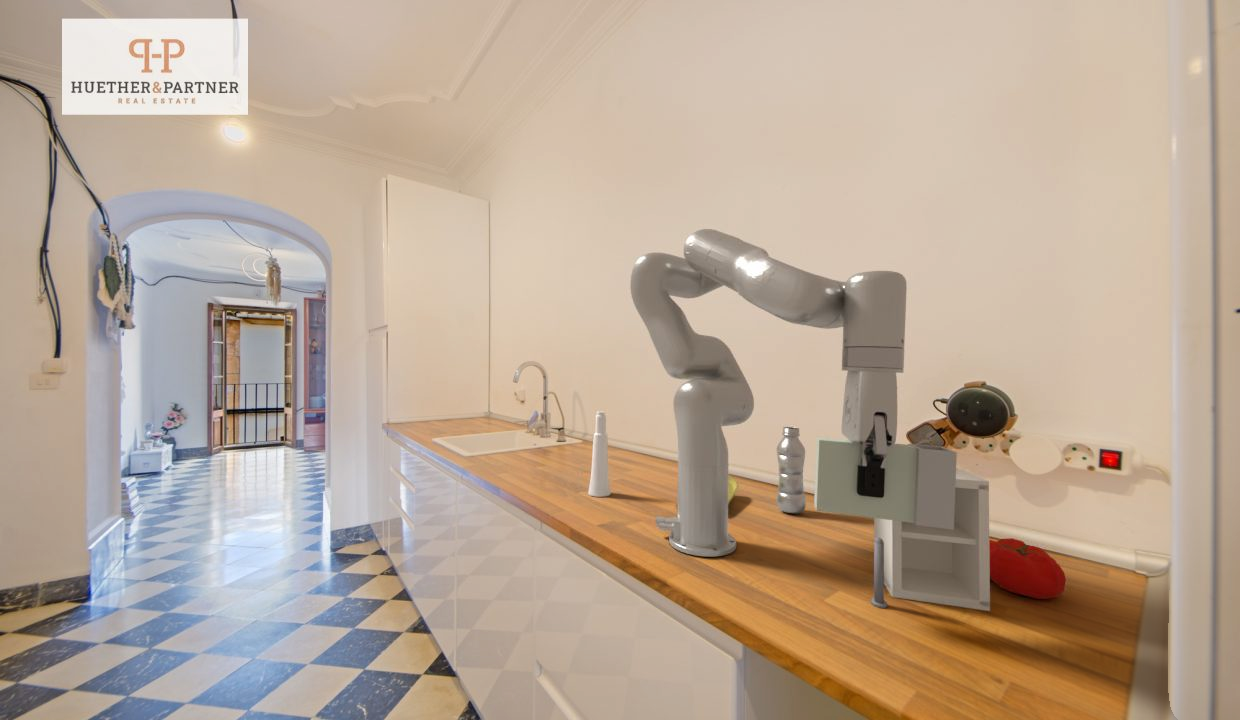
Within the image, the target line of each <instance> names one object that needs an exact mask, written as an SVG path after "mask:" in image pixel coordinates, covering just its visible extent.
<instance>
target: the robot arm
mask: <svg viewBox="0 0 1240 720" xmlns="http://www.w3.org/2000/svg"><path fill="white" fill-rule="evenodd" d="M629 284H630V287H629V289H630V294H631V299H632V302H633V304H634V307H635V309H636V311H637V313H638V314H639V316H640V318H641V319H642V322H643V323H644V325H645V327H646V330H647V332H648V333H649V336H650V339H651V341H652V343H653V345H654V348H655V351H656V352H657V353H656V354H657V355H658V357H659V359H660V361H661V364H662V366H663V368H664V370H665V371H666V373H667V374H668V375H669V376H670V377H671V378H672V379H673V378H674V379H677V380H688V381H685V382H684V383H682V384H681V385H680V386H679V387H678V388H677V390H676V392H675V393H674V397H673V412H674V418H675V423H676V424H675V425H676V430H677V431H676V432H677V503H678V508H677V515H676V516H672V517H665V516H656V517H655V520H654V523H655V527H658V529H659V531H665V532H666V531H668V532H669V531H670V533H669V537H668V541H669V542H668V543H669V544H670V546H671V547H673V548H674V549H675V550H677V551H678V552H681V553H683V554H687V555H691V556H696V557H703V558H704V557H706V558H711V557H713V558H715V557H722V556H727V555H729V554H732V553H733V552H734V551H735V550H736V549H737V540H736V538H735V537H734V536H733V535H732V534H730V533H729V504H728V474H729V448H728V444H727V439H726V437H725V434H724V431H723V428H722V427H729V426H737V425H741V424H743V423H745V422H746V421H748V420H749V419H750V418H751V416H752V414H753V411H754V407H755V399H754V395H753V391H752V389H751V387H750V385H749V384H750V383H748V381H747V379H746V377H745V375H744V373H743V371H742V370H741V367H740V365H739V363H738V362H737V360H736V358H735V356H734V354H733V352H732V350H731V349H730V348H729V346H728V345H727V344H726V343H725V342H724V341H722V339H720V338H718V337H715V336H711V335H704V334H700V333H697V332H696V331H694V329H693V328H692V326H691V325H690V322H689V321H688V319H687V316H686V313H685V312H684V311H683V309H682V308H681V307H680V306H679V305H678V304H677V303H676V302H675V301H674V299H673V298H672V297H676V298H683V299H695V298H699V297H702V296H704V295H706V294H708V293H711V292H713V291H715V290H717V289H719V288H721V287H723V286H725V287H726V288H728V289H730V290H732V291H734V292H736V293H738V295H739V296H741V298H743V300H745V301H747V302H748V303H750V304H752V305H754V306H756V307H757V308H759V309H761V310H763V311H765V312H767V313H769V314H771V315H773V316H774V317H776V318H779V319H780V320H783V321H785V322H788V323H791V324H794V325H801V326H807V327H813V328H818V329H824V330H825V329H827V330H830V329H831V330H832V329H838V328H842V347H841V348H842V353H841V371H844V372H845V371H847V373H846V378H845V386H844V394H843V406H842V417H841V418H842V419H841V434H842V435H843V436H844V437H845V438H846V439H847V440H851V441H852V442H853V443H855V444H859V443H860V441H861V461H860V463H861V466H860V465H858V473H857V493H858V494H859V495H860V496H869V497H878V498H883V497H884V484H885V458H886V455H887V446H888V447H890V446H892V445H893V444H896V441H897V431H898V381H897V379H898V378H897V373H900V374H903V373H904V368H905V337H906V334H905V333H906V312H907V291H908V290H907V279H906V277H905V276H904V275H903V274H902V273H900V272H897V271H893V270H872V271H871V270H870V271H864V272H859V273H856V274H853V275H850V277H849V278H848V279H847V280H846V281H841V280H835V279H831V278H828V277H825V276H822V275H819V274H814V273H812V272H809V271H805V270H803V269H800V268H798V267H795V266H792V265H791V264H788V263H785V262H783V261H781V260H777V259H775V258H773V257H771V256H769V253H768V251H767V250H765V249H764V248H762V247H760V246H757V245H754V244H752V243H750V242H747V241H744V240H742V239H741V238H739V237H736V236H733V235H731V234H728V233H725V232H722V231H719V230H716V229H711V228H702V229H699V230H695V231H694V232H692V233H691V234H690V235H689V236H688V237H687V238H686V240H685V242H684V245H683V257H682V256H681V257H680V256H677V255H673V254H670V253H664V252H648V253H646V254H643V255H642V256H640V257H639V258H638V259H637V261H636V262H635V264H634V265H633V267H632V271H631V275H630V283H629ZM671 296H672V297H671ZM866 441H869V442H873V443H874V444H870V443H866ZM867 449H869V451H868V452H867ZM871 449H872V450H871Z"/></svg>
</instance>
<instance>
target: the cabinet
mask: <svg viewBox="0 0 1240 720" xmlns="http://www.w3.org/2000/svg"><path fill="white" fill-rule="evenodd" d="M989 482H990V481H989V480H986V479H984V478H982V477H980V476H979V475H978V476H977V475H975V474H973V473H971V472H969V471H967V470H964V469H962V468H959V467H958V466H956V486H955V513H954V530H952V529H944V528H936V527H928V526H920V525H916V524H915V523H911V522H903V521H895V520H887V519H879V518H873V520H874V521H873V525H874V526H873V527H874V528H873V530H874V531H873V535H874V537H873V590H874V591H873V597H871V599H870V604H871V605H872V606H873V607H877V608H879V609H886V608H887V607H888V602H887V601H886V600H885V588H886V589H887V591H888V593H889V594H890V595H891V597H892V598H897V599H903V600H911V601H918V602H924V603H931V604H932V603H933V604H936V605H937V604H938V605H945V606H952V607H958V608H967V609H972V610H980V611H986V612H987V611H988V612H991V581H990V580H991V579H990V556H989V540H990V483H989ZM884 587H885V588H884Z"/></svg>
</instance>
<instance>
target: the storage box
mask: <svg viewBox="0 0 1240 720" xmlns="http://www.w3.org/2000/svg"><path fill="white" fill-rule="evenodd" d="M866 443H870V444H874V443H873V442H869V441H866ZM815 446H816V447H815V467H814V468H815V471H814V497H813V498H814V501H813V507H814V508H815V511H816V512H825V513H832V514H839V515H840V514H841V515H847V516H848V515H849V516H857V517H864V518H865V517H866V518H871V519H874V518H879V519H887V520H895V521H903V522H911V523H915V524H916V525H920V526H928V527H936V528H944V529H952V530H954V513H955V486H956V467H957V454H958V452H957V451H955V450H952V449H949V448H947V447H945V446H939V445H938V446H937V445H930V444H929V445H927V444H916V443H915V444H914V443H908V444H904V443H894V444H893V445H892V446H890V447H888V446H887V455H886V458H885V484H884V497H883V498H878V497H869V496H860V495H859V494H858V493H857V473H858V465H860V466H861V463H860V461H861V441H860V443H859V444H855V443H853V442H852V441H851V440H849V439H843V438H842V439H841V438H840V439H839V438H829V437H818V436H817V437H816V445H815ZM871 450H872V449H871ZM868 451H869V449H867V452H868Z"/></svg>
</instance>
